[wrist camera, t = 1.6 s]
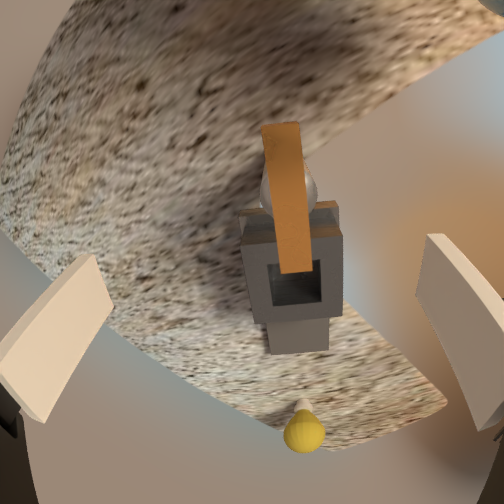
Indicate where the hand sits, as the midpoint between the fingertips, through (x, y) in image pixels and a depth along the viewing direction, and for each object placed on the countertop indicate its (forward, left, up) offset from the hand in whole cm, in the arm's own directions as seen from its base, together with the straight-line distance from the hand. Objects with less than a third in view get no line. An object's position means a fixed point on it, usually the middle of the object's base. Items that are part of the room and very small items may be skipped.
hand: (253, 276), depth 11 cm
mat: (+9, +19, -21) cm, 29 cm away
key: (-1, +1, -21) cm, 21 cm away
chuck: (+4, +10, -21) cm, 23 cm away
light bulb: (+18, +36, -21) cm, 45 cm away
